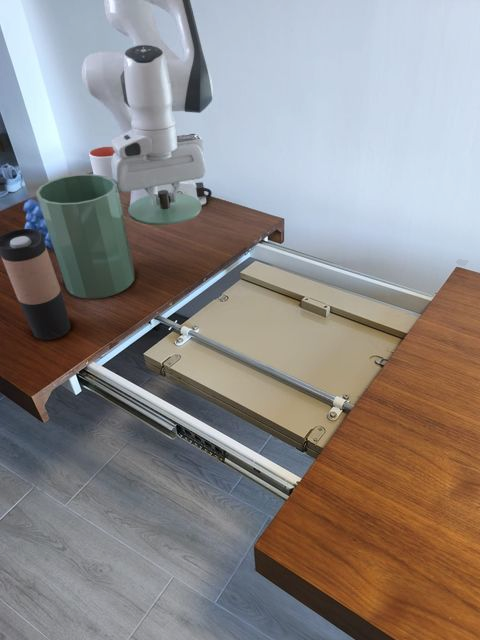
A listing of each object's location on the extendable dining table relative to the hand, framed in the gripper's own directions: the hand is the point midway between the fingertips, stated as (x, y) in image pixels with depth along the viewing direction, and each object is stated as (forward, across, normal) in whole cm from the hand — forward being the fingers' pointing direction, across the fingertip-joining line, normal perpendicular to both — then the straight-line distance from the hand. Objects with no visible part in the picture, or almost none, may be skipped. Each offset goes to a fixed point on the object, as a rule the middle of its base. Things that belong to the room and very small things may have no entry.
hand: (164, 203), depth 107 cm
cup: (+14, +1, -54) cm, 56 cm away
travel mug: (+14, +31, +16) cm, 38 cm away
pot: (+14, +18, +2) cm, 23 cm away
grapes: (+14, +27, -20) cm, 37 cm away
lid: (+2, 0, 0) cm, 2 cm away
